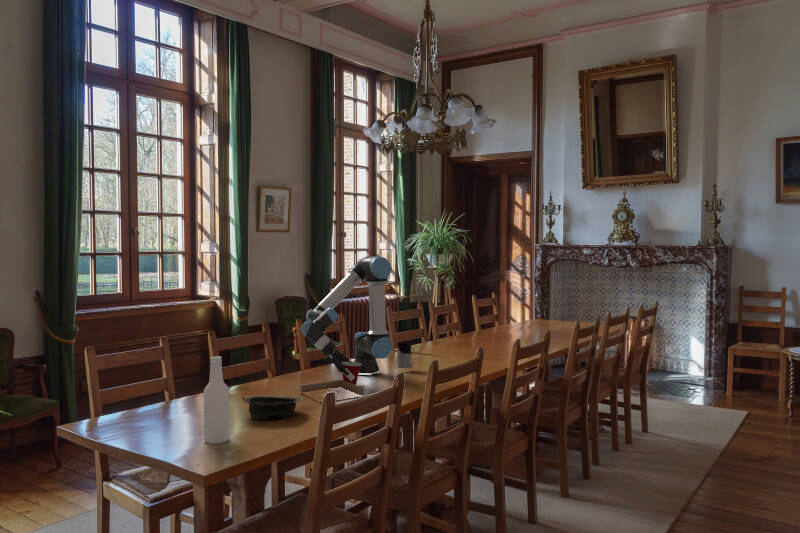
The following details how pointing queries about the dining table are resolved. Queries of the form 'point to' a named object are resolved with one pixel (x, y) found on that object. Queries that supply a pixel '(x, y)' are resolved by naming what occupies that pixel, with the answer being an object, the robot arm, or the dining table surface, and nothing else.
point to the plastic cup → (353, 368)
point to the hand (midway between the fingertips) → (355, 376)
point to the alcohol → (216, 405)
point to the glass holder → (405, 355)
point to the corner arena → (332, 384)
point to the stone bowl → (271, 406)
